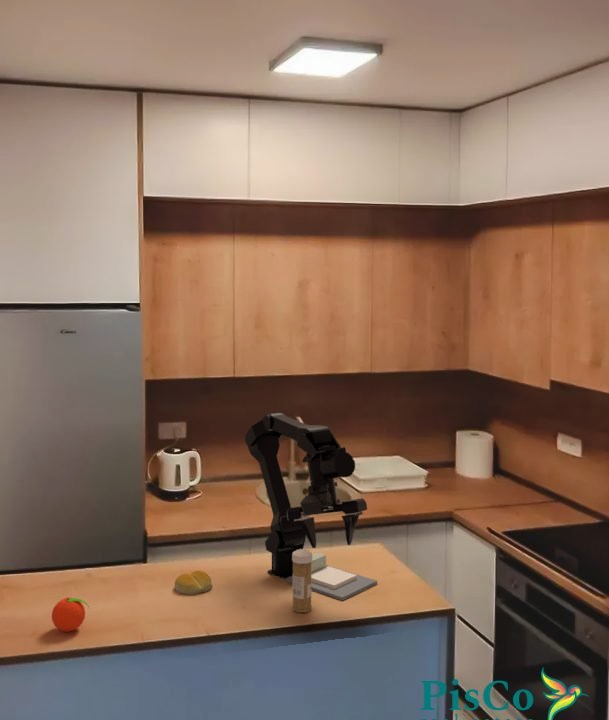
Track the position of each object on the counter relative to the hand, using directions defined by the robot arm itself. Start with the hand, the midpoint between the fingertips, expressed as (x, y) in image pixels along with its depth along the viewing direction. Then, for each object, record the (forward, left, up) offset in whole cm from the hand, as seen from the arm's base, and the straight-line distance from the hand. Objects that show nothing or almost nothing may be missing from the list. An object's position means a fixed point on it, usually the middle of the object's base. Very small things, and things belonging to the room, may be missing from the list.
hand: (331, 546), depth 189 cm
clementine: (-32, -50, -13) cm, 60 cm away
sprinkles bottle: (-2, -9, -13) cm, 16 cm away
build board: (-7, +8, -13) cm, 17 cm away
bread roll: (-30, -17, -13) cm, 37 cm away
